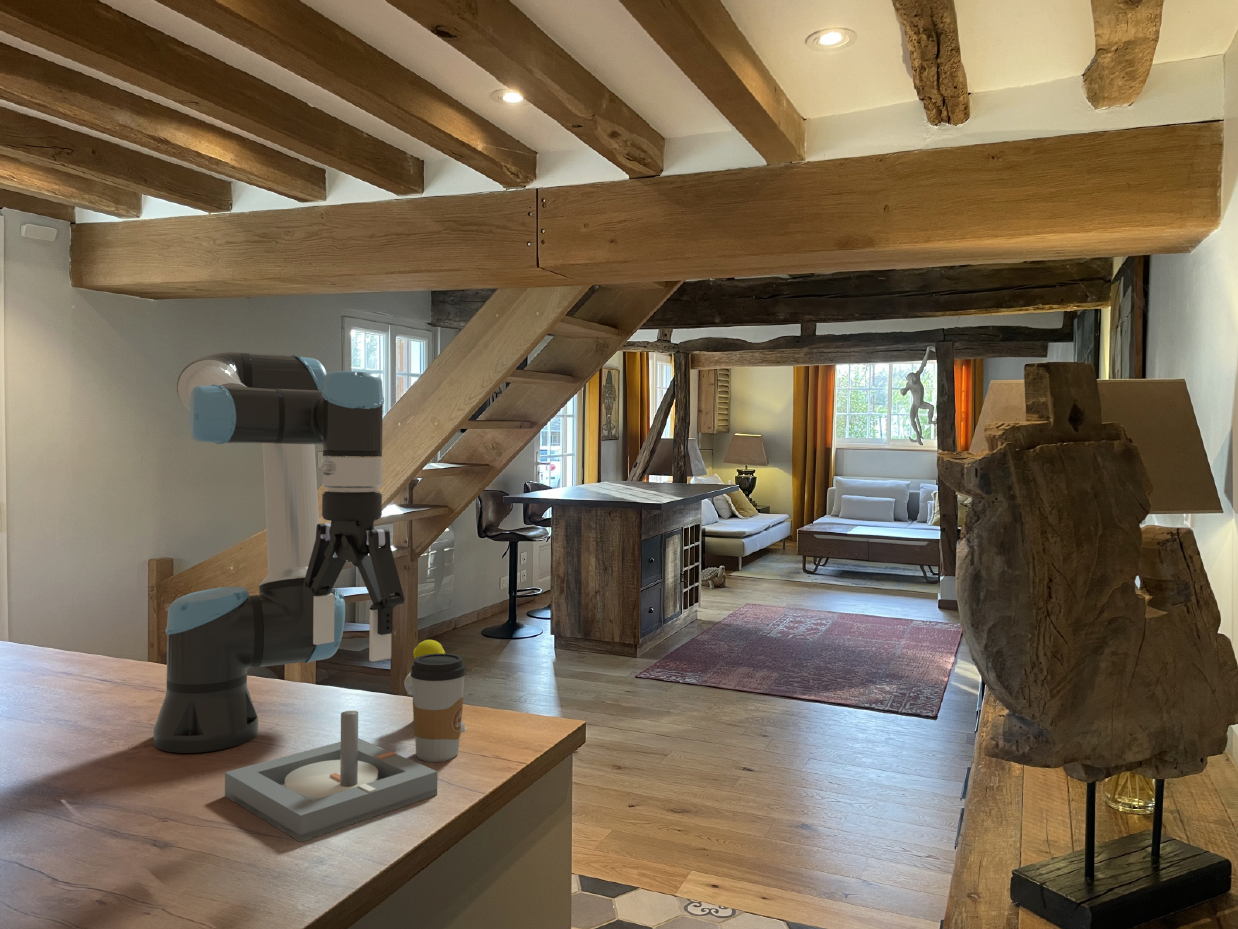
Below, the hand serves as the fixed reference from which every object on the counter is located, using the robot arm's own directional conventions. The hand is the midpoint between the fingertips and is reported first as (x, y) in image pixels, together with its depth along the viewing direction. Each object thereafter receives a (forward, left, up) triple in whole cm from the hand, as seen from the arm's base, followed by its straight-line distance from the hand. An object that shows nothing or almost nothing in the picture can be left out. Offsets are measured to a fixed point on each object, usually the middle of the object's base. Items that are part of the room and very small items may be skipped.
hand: (350, 651), depth 116 cm
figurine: (-16, +26, -21) cm, 37 cm away
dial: (-4, 0, -19) cm, 20 cm away
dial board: (-4, 0, -20) cm, 21 cm away
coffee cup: (-6, +19, -21) cm, 29 cm away
